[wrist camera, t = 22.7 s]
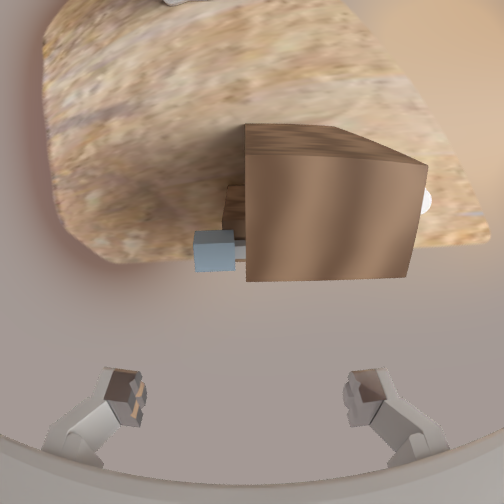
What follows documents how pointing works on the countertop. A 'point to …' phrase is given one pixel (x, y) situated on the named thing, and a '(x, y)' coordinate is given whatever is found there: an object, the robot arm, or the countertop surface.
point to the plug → (217, 250)
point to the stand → (324, 205)
